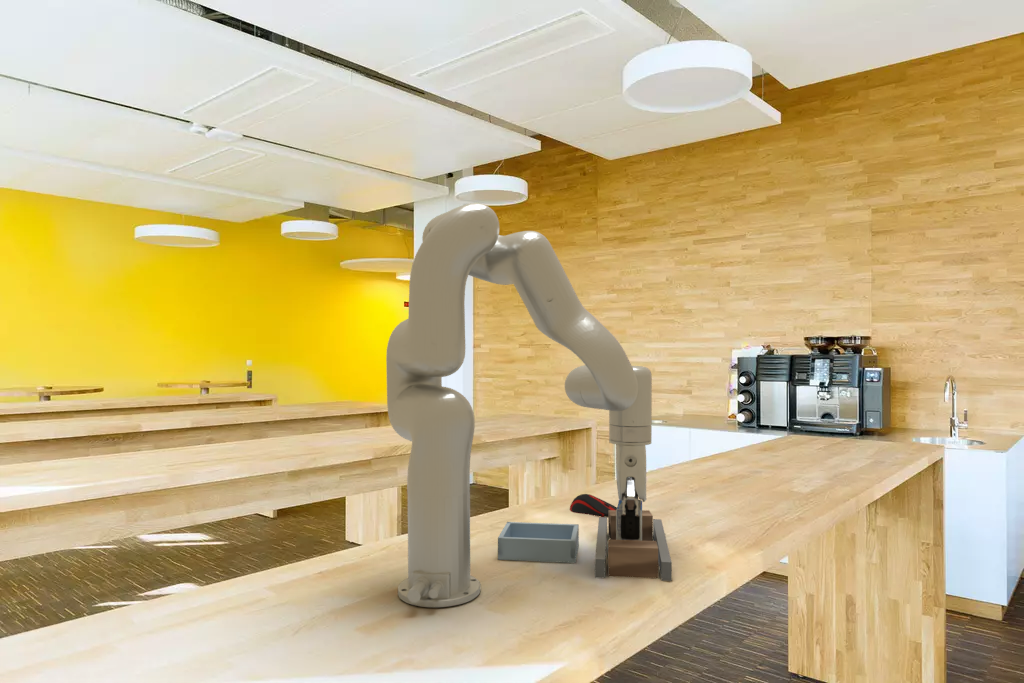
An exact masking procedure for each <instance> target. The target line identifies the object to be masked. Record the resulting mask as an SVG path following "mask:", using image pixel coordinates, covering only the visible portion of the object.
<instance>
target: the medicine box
mask: <svg viewBox="0 0 1024 683" xmlns="http://www.w3.org/2000/svg"><path fill="white" fill-rule="evenodd" d="M638 500H639V501H638V516H640V538H639V539H638V540H640V541H642V510H643V500H640V499H638ZM625 504H626V503H625ZM616 507H617V510H616V540H635V539H622V538H621V515H622V501H621V500H620V499H619V498H618V503H617V506H616ZM625 512H626V509H625ZM625 515H626V514H625Z"/></svg>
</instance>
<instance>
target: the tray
mask: <svg viewBox="0 0 1024 683" xmlns="http://www.w3.org/2000/svg"><path fill="white" fill-rule="evenodd" d="M579 527H580V526H579V524H576V523H552V522H550V523H548V522H522V521H521V522H520V521H507V522H506V523H505V524H504V526H503V528H502V530H501V532H500V534H499V535H498V537H497V560H499V561H500V560H504V561H522V562H526V561H527V562H545V563H546V562H547V563H548V562H549V563H564V564H565V563H569V564H570V563H571V564H574V563H575V564H576V563H577V555H578V551H579V545H580V542H579V539H580V537H579V535H580V534H579V532H580V531H579V530H580V528H579Z"/></svg>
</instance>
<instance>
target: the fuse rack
mask: <svg viewBox="0 0 1024 683" xmlns="http://www.w3.org/2000/svg"><path fill="white" fill-rule="evenodd" d="M596 535H597V536H596V544H595V545H596V546H595V556H594V578H599V579H603V578H606V568H607V567H606V564H607V562H606V561H607V547H608V516H607V517H599V516H598V524H597V534H596ZM653 541H656V542H657V546H658V570H659V574H660V579H661V581H663V582H672V581H673V578H672V576H673V574H672V573H673V569H672V568H673V566H672V565H673V564H672V563H673V562H672V558H671V555H670V550H669V549H670V548H669V546H668V541H667V537H666V534H665V530H664V525H663V520H662V519H661V518H656V519H654V518H653Z"/></svg>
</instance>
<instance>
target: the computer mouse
mask: <svg viewBox="0 0 1024 683" xmlns="http://www.w3.org/2000/svg"><path fill="white" fill-rule="evenodd" d="M608 510H617V506H616V505H613V504H612V503H610V502H607V501H605V500H603V499H601V498H599V497H597V496H594V495H592V494H588V493H581V494H580V495H579V494H578V495H577V496H576V497H574V498H573V500H572V501H571V504H570V505H569V511H570V512H572V513H574V514H579V515H580V514H581V515H588V514H589V515H591V516H594V515H595V517H599V516H601V517H607V518H608Z"/></svg>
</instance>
